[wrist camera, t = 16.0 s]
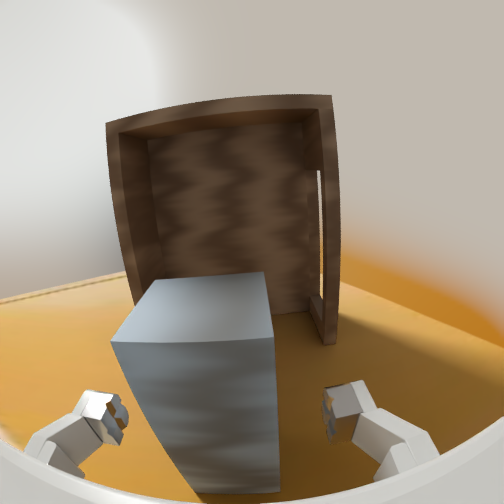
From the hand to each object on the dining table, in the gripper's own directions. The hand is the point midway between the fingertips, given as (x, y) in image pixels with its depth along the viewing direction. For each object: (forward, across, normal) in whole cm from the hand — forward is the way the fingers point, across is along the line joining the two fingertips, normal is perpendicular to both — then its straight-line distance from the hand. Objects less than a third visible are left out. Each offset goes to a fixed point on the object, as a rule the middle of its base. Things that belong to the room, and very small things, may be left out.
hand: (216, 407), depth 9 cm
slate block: (+2, 0, +8) cm, 8 cm away
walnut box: (+18, 0, +8) cm, 20 cm away
